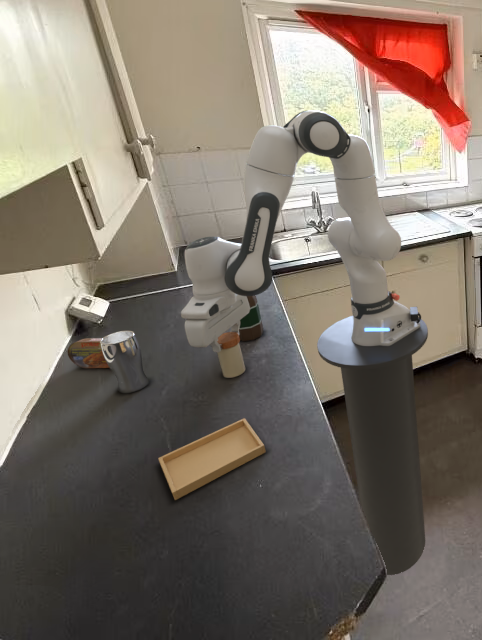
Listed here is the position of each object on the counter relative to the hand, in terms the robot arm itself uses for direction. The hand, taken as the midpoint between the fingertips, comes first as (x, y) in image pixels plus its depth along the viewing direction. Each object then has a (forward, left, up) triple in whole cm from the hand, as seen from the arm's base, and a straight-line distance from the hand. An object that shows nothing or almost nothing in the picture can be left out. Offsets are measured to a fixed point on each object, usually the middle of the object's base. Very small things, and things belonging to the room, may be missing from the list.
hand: (227, 343), depth 115 cm
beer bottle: (-10, -18, -10) cm, 23 cm away
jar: (0, 0, -9) cm, 9 cm away
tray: (+13, +31, -9) cm, 35 cm away
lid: (0, 0, +2) cm, 2 cm away
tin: (+24, -30, -10) cm, 40 cm away
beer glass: (+20, -12, -10) cm, 25 cm away
